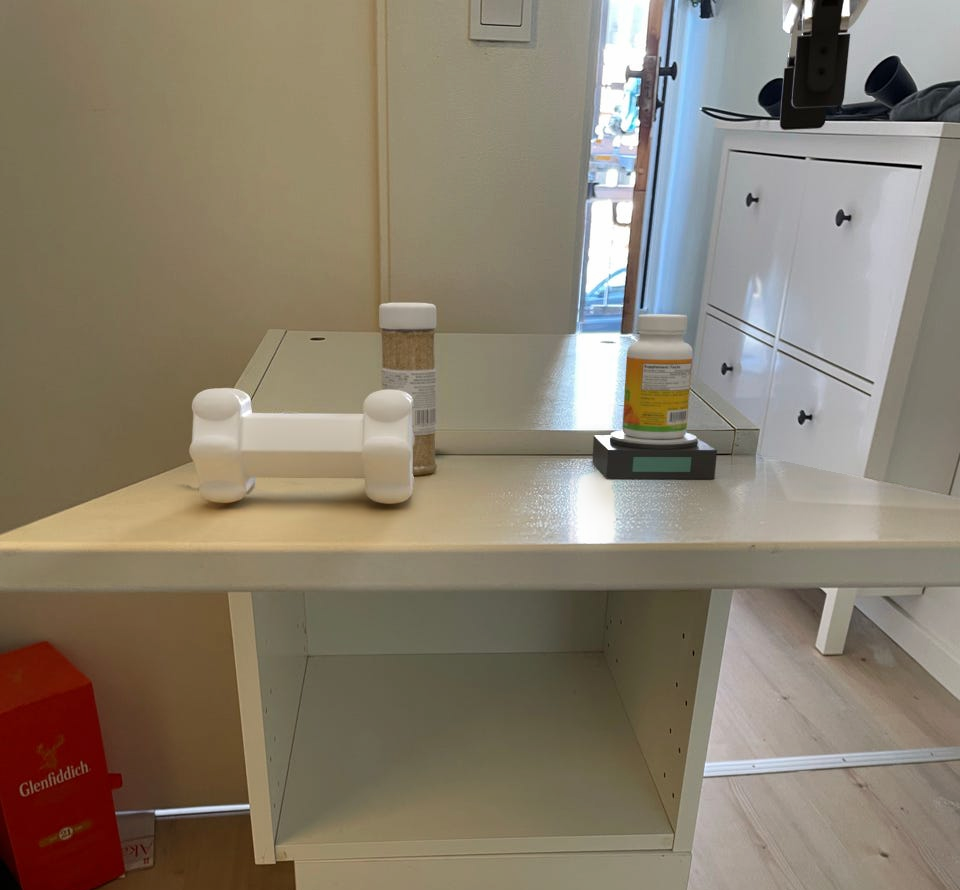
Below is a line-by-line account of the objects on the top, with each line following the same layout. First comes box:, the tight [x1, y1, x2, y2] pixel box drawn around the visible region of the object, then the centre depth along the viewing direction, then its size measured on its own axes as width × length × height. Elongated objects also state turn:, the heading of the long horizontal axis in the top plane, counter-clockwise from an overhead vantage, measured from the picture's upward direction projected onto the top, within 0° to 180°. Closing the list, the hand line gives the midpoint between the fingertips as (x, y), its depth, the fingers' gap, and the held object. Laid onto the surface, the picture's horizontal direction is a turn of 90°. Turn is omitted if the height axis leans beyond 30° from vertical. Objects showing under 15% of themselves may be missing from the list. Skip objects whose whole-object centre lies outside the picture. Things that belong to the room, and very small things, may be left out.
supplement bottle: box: [622, 313, 694, 439], centre depth 81 cm, size 5×5×10 cm
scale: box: [591, 429, 718, 480], centre depth 83 cm, size 9×8×3 cm
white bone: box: [188, 387, 415, 505], centre depth 69 cm, size 15×9×8 cm, turn 92°
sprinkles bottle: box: [378, 301, 438, 476], centre depth 80 cm, size 5×5×13 cm
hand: (808, 118), depth 68 cm, fingers open, 9 cm apart
